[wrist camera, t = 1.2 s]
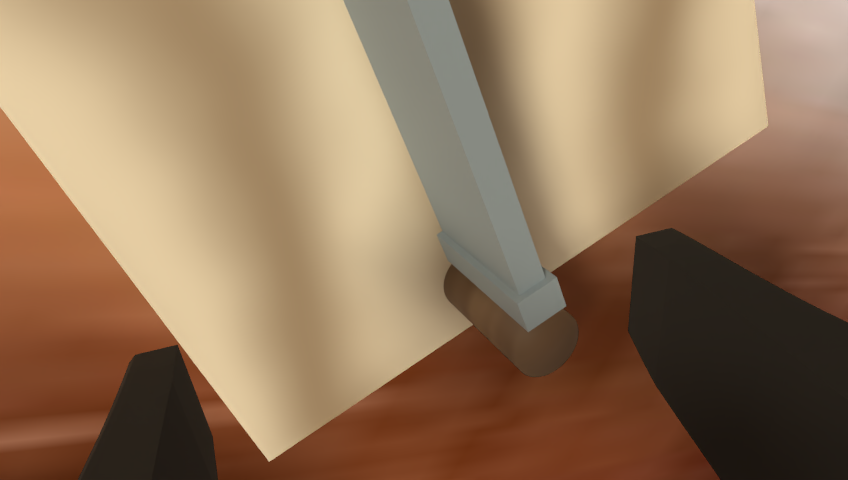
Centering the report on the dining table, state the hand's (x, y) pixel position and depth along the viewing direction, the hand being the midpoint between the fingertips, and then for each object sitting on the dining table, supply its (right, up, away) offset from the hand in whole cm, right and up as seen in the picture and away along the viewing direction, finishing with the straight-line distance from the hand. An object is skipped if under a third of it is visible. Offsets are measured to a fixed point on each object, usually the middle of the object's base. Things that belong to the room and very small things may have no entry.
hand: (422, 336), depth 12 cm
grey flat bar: (-1, +6, +7) cm, 10 cm away
